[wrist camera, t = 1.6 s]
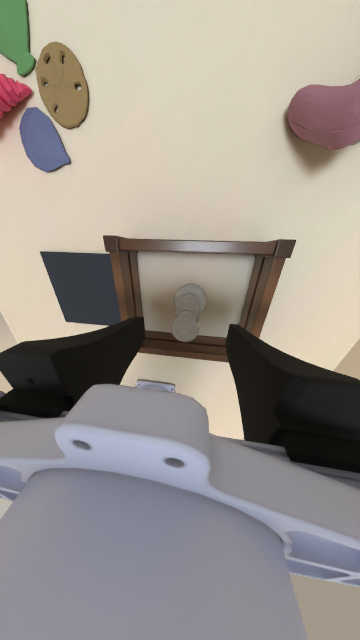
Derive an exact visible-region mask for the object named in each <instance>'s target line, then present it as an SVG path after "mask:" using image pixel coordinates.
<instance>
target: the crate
mask: <svg viewBox="0 0 360 640" xmlns="http://www.w3.org/2000/svg"><path fill="white" fill-rule="evenodd" d="M103 239H104V245H105V250H106V252H110V258H111V264H112V270H113V275H114V281H115V287H116V293H117V298H118V304H119V310H120V315H121V321H124V320H127V319H129V318H132V317H135V316H140V317H142V306H141V296H140V286H139V276H138V266H137V255H136V253H137V252H138V251H157V252H187V253H217V254H247V255H255V257H256V260H255V264H254V268H253V272H252V276H251V280H250V284H249V288H248V292H247V296H246V300H245V304H244V308H243V312H242V316H241V320H240V324H239V326H241V327H243V328H244V329H245V330H247V331H248V332H250V333H251V334H253V335H254V336H256V337H257V338H259V336H260V333H261V330H262V327H263V324H264V321H265V318H266V316H267V313H268V310H269V307H270V304H271V301H272V298H273V295H274V292H275V289H276V286H277V283H278V280H279V277H280V274H281V271H282V268H283V265H284V262H285V259H286V258H290V257H291V254H292V251H293V248H294V246H295V243H296V240H284V239H279V240H274V241H269V242H241V241H200V240H159V239H128V238H124V237H119V236H106V235H103ZM226 339H227V338H218V337H208V336H196V338H195V339H193V340H192V341H188V342H182V341H179V340H178V339H176V338H175V337H174V336H173V334H172V333H165V332H154V331H145V339H144V342H143V344H142V346H141V348H140V349H139V351H138V352H139V353H148V354H157V355H166V356H175V357H184V358H193V359H202V360H211V361H220V362H229V361H228V358H227V353H226V346H225V344H226Z"/></svg>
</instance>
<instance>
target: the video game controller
mask: <svg viewBox="0 0 360 640" xmlns="http://www.w3.org/2000/svg"><path fill="white" fill-rule="evenodd" d="M288 122H289V125H290V127H291V129H292V130H293V132H294V133H295V134H296V135H297V136H298V137H300V138H301V139H303V140H305V141H307V142H310V143H314V144H320V145H326V147H327V149H328V150H337V149H341V148H343V147H346V146H348V145H354V144H357V143H359V142H360V79H359V80H358V81H356V82H355V83H353V84H351V85H346V86H323V85H309V86H306V87H304V88H302V89H300V90H299V91H298V92H297V93H296V94H295V95H294V97H293V98H292V100H291V102H290V105H289V108H288Z"/></svg>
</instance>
